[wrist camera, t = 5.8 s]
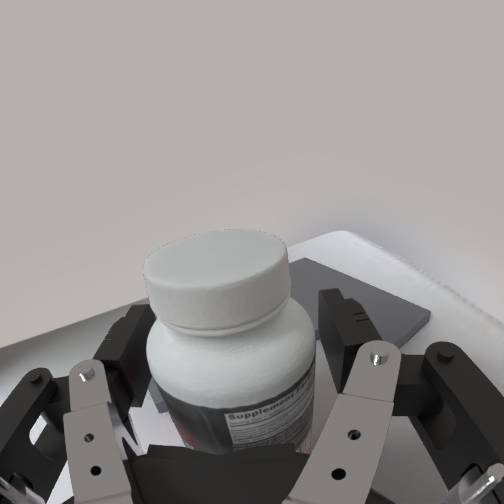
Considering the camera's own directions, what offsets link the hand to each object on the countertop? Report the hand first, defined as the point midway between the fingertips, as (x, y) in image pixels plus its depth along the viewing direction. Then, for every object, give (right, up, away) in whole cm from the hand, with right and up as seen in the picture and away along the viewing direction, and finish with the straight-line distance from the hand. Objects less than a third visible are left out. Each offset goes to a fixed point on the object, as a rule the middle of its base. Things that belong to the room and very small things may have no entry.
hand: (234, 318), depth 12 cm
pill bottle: (+1, -7, 0) cm, 7 cm away
